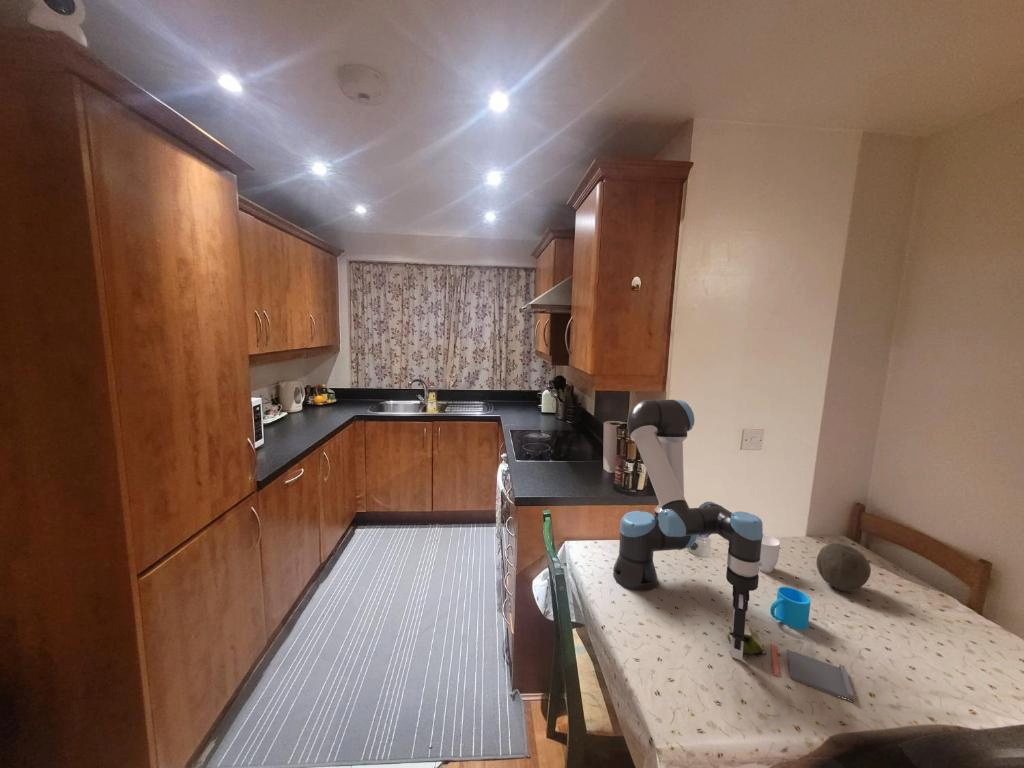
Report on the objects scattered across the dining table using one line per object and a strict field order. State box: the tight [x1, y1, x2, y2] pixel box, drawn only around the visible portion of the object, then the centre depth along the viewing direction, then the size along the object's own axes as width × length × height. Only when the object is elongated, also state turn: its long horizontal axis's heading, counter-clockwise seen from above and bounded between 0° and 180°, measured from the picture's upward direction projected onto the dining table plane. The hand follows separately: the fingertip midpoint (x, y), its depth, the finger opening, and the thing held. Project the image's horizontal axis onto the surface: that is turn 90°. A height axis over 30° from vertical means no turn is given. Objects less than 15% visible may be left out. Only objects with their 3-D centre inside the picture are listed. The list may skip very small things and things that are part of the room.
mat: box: [786, 649, 855, 703], centre depth 96 cm, size 12×10×2 cm
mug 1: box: [759, 533, 781, 573], centre depth 144 cm, size 12×9×12 cm
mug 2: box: [769, 586, 812, 630], centre depth 116 cm, size 12×8×8 cm
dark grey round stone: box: [815, 543, 872, 592], centre depth 132 cm, size 14×14×15 cm
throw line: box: [770, 642, 781, 678], centre depth 101 cm, size 1×12×1 cm, turn 149°
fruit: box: [726, 621, 767, 655], centre depth 105 cm, size 9×9×8 cm
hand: (736, 644), depth 106 cm, fingers closed on fruit, 10 cm apart
